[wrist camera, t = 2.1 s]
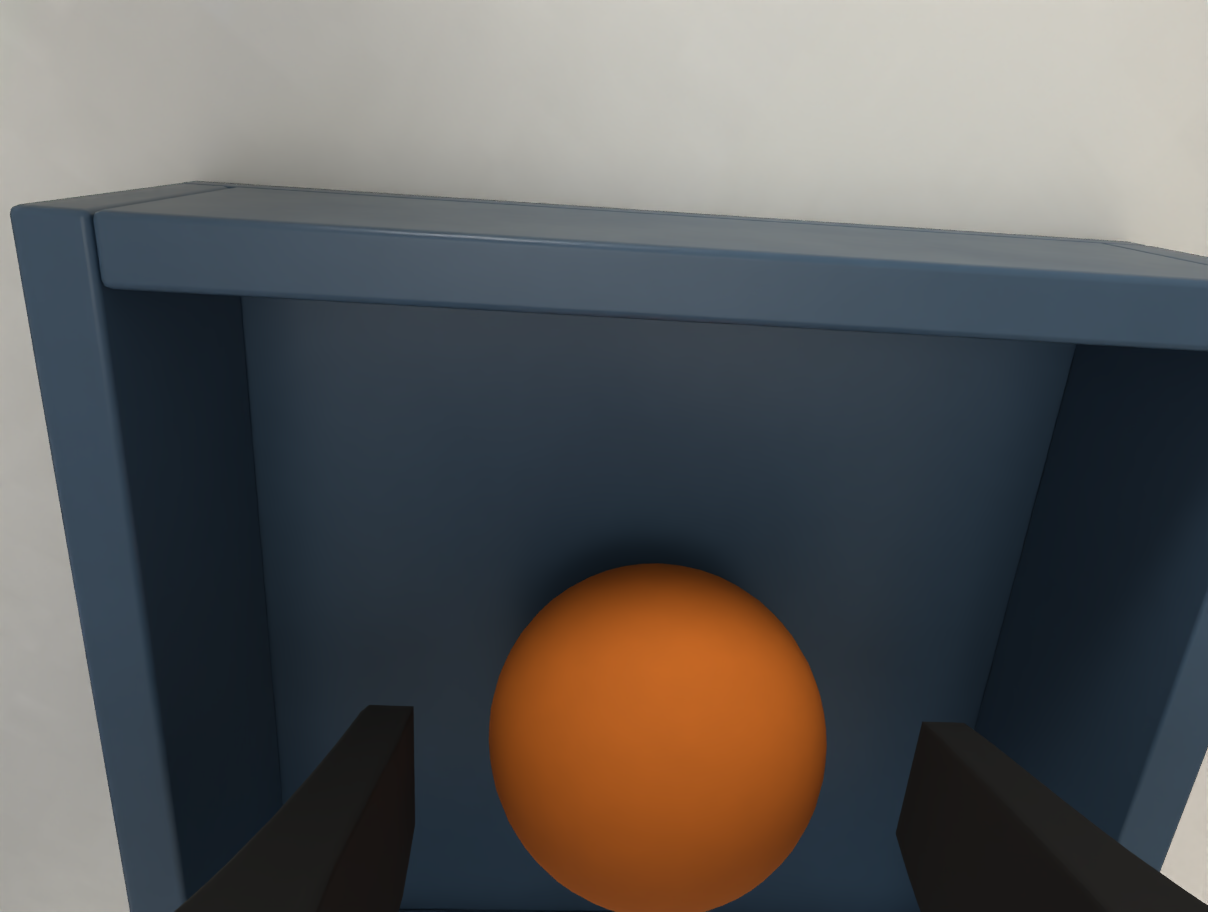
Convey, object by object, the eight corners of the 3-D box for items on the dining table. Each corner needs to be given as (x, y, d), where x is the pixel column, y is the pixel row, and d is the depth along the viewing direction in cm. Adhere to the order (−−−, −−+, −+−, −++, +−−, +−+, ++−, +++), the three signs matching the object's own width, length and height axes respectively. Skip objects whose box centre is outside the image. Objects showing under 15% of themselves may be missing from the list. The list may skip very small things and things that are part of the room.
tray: (264, 910, 18) (169, 1156, 14) (192, 180, 13) (3, 204, 8) (942, 919, 19) (1053, 1152, 15) (1128, 241, 14) (1387, 291, 9)
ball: (497, 748, 16) (469, 1004, 11) (504, 504, 14) (474, 685, 10) (761, 755, 16) (841, 1007, 12) (799, 516, 15) (911, 699, 10)
